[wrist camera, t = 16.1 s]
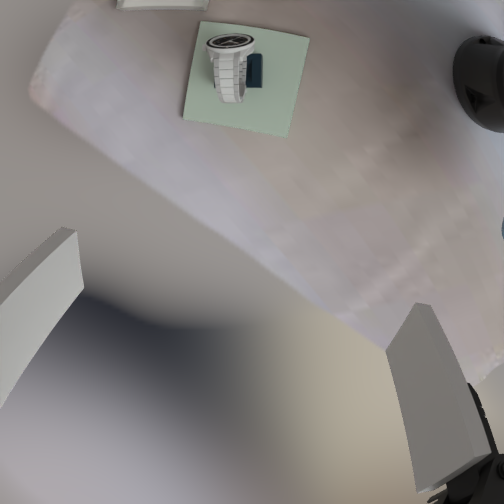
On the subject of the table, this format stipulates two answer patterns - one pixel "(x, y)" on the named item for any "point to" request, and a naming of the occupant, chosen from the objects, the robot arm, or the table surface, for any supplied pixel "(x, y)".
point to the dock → (162, 5)
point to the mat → (256, 99)
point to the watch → (234, 65)
